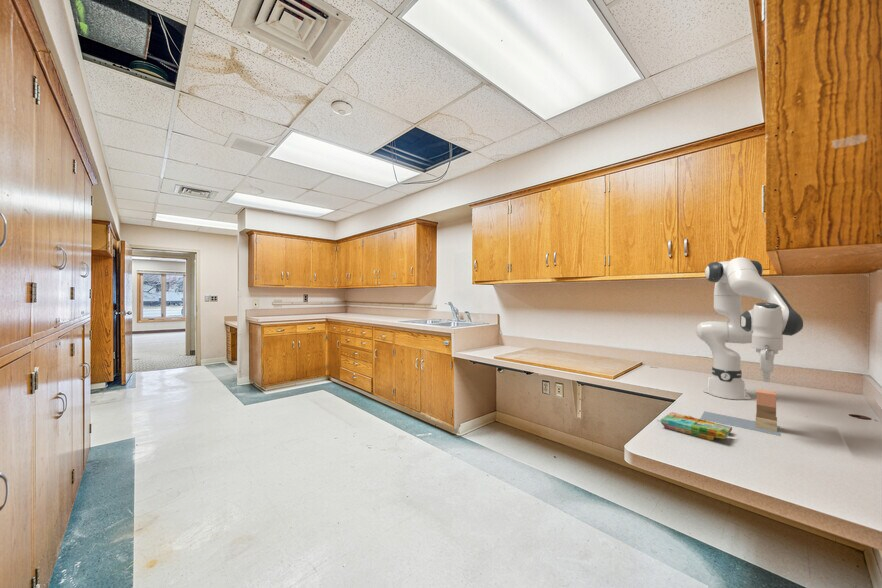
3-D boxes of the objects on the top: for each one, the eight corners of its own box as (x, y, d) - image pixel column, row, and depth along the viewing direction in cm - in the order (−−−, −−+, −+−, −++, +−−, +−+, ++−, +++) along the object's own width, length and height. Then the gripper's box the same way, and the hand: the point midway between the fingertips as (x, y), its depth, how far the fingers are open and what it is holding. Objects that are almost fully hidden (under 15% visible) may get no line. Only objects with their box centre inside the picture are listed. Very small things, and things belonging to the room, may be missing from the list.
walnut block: (756, 413, 137) (757, 401, 137) (775, 417, 134) (776, 404, 134) (756, 417, 133) (756, 404, 133) (776, 420, 130) (776, 407, 130)
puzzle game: (670, 410, 143) (732, 424, 128) (670, 421, 143) (731, 437, 128) (661, 416, 136) (725, 433, 120) (660, 428, 136) (725, 446, 120)
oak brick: (756, 423, 138) (756, 413, 138) (776, 427, 133) (776, 417, 133) (755, 427, 133) (755, 417, 133) (776, 431, 129) (777, 421, 129)
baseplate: (704, 413, 151) (704, 411, 151) (780, 429, 135) (780, 426, 135) (699, 421, 142) (699, 419, 142) (780, 439, 125) (780, 436, 125)
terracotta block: (756, 401, 137) (757, 389, 137) (776, 404, 133) (776, 391, 133) (756, 404, 133) (756, 391, 133) (776, 407, 130) (776, 394, 130)
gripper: (778, 348, 124) (778, 386, 124) (777, 342, 138) (777, 375, 138) (755, 346, 128) (754, 383, 128) (756, 340, 143) (756, 372, 143)
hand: (766, 379), depth 133 cm, fingers open, 8 cm apart
